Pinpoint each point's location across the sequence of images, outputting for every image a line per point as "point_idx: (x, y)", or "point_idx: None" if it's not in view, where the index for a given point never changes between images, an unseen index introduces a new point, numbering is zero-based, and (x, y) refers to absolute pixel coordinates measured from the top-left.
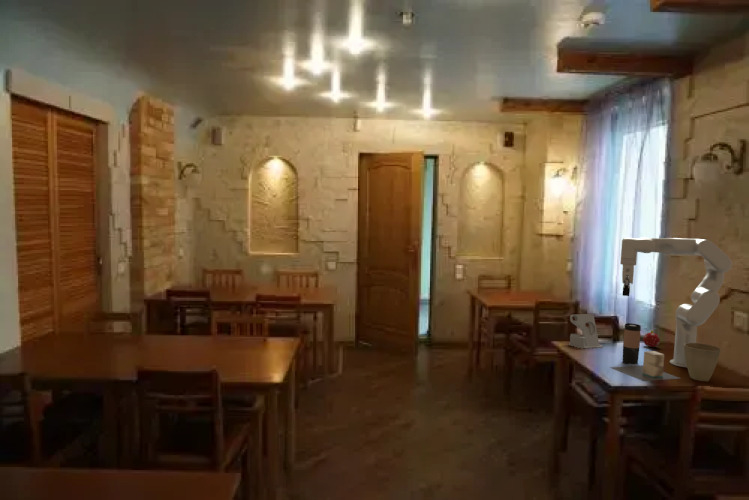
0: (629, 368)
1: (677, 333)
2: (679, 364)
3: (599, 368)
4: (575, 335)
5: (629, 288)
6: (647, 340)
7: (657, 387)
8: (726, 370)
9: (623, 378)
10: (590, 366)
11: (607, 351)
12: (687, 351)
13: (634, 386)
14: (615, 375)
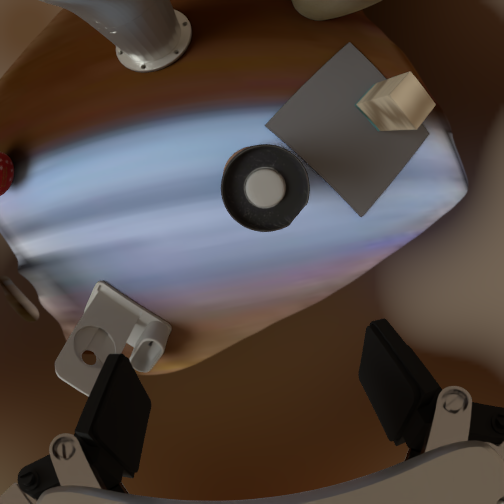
0: (339, 165)
1: (139, 12)
2: (189, 40)
3: (370, 239)
4: (132, 360)
5: (434, 389)
6: (7, 180)
7: (441, 109)
8: None
9: (422, 176)
10: (363, 262)
11: (140, 259)
12: (376, 2)
13: (457, 155)
14: (410, 195)
